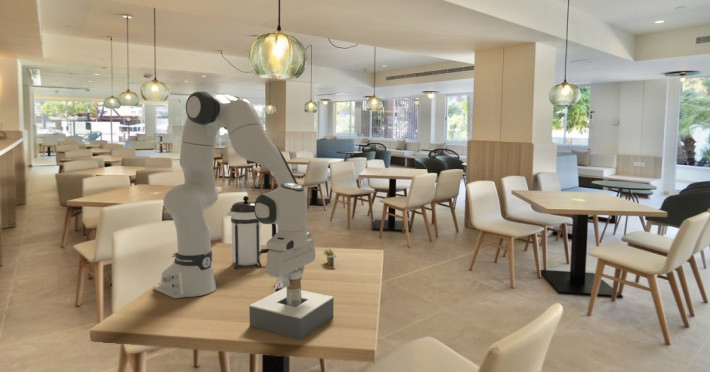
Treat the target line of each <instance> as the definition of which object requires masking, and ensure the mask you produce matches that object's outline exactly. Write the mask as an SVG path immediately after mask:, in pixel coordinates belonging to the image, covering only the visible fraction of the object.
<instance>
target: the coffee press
mask: <svg viewBox="0 0 710 372" xmlns="http://www.w3.org/2000/svg"><path fill="white" fill-rule="evenodd" d="M242 199H243V200H242V201H238V202H235V203H233V204H231V208H230V209H229V212H228V213H227V214H226V216H227V217H229V216H231V217H230V222H231V251H232V253H231V255H232V257H231V258H232V259H231V260H232V264H234V265H233V269H234V270H239V269H240V267H241V266H253V265H254V266H255V267H257V269H259V268H261V267H262V266H263V265H262V263H261V260H262V254H267V253H268V251H269V250H270V249H267V248H262V230H261V229H262V227H261V225H262V223H261V222H260V221H259V220H258V219H257V218H256V216H255V213H254V203H255V201H249V197H248V195H245V196H243V198H242ZM276 233H277V224H276V223H274V224H271V238H272V237H273V236H274V235H275V234H276Z"/></svg>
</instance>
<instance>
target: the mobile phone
mask: <svg viewBox="0 0 710 372" xmlns="http://www.w3.org/2000/svg"><path fill="white" fill-rule="evenodd" d="M283 288H285V287H284V285H283V279H282V278H281V277H278V278H276V284H275V286H274V289H273V293H275V292H277V291H279V290H281V289H283Z"/></svg>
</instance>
